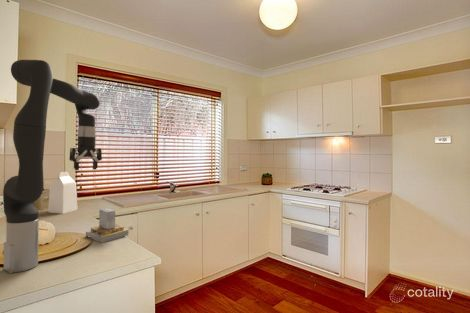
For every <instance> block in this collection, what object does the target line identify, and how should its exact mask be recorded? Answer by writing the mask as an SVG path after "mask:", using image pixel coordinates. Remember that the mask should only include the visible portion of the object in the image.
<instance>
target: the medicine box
mask: <svg viewBox="0 0 470 313" xmlns="http://www.w3.org/2000/svg"><path fill="white" fill-rule="evenodd" d="M98 214H99V217H98V218H99V220H98V221H99V222H98V223H99V224H98V226H100V227H102V228H104V229H112V228H115V224H116V210H113V209H110V208H102V209H99V212H98Z"/></svg>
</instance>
